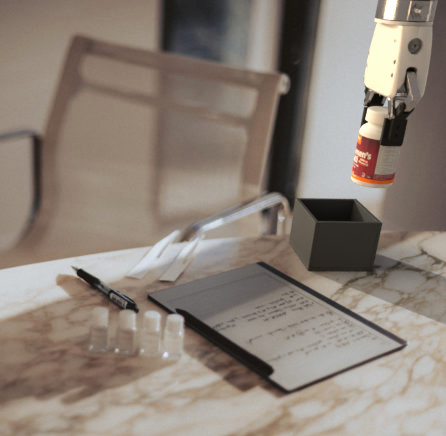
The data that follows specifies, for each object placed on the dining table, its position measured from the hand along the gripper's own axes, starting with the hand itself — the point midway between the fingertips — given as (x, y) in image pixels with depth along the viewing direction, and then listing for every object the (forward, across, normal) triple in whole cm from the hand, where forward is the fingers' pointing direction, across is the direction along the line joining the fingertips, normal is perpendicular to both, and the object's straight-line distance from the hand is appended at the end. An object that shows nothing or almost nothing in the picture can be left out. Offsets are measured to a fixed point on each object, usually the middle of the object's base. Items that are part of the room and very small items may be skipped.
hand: (380, 138), depth 93 cm
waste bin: (+23, +6, +2) cm, 23 cm away
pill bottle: (+7, 0, 0) cm, 7 cm away
